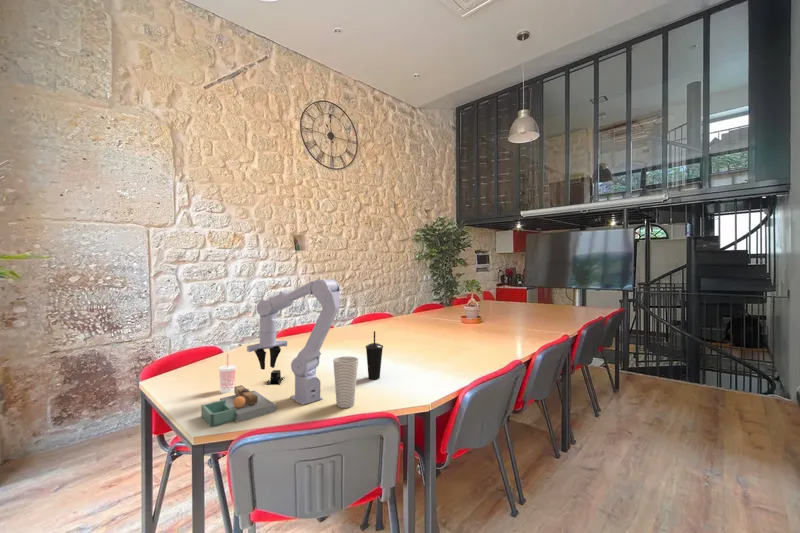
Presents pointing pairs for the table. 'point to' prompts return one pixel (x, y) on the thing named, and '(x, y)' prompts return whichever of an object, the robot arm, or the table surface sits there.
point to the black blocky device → (275, 378)
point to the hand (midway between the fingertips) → (267, 368)
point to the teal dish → (218, 413)
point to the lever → (246, 394)
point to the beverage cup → (227, 377)
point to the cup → (345, 380)
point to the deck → (251, 407)
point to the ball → (239, 402)
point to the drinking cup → (374, 359)
